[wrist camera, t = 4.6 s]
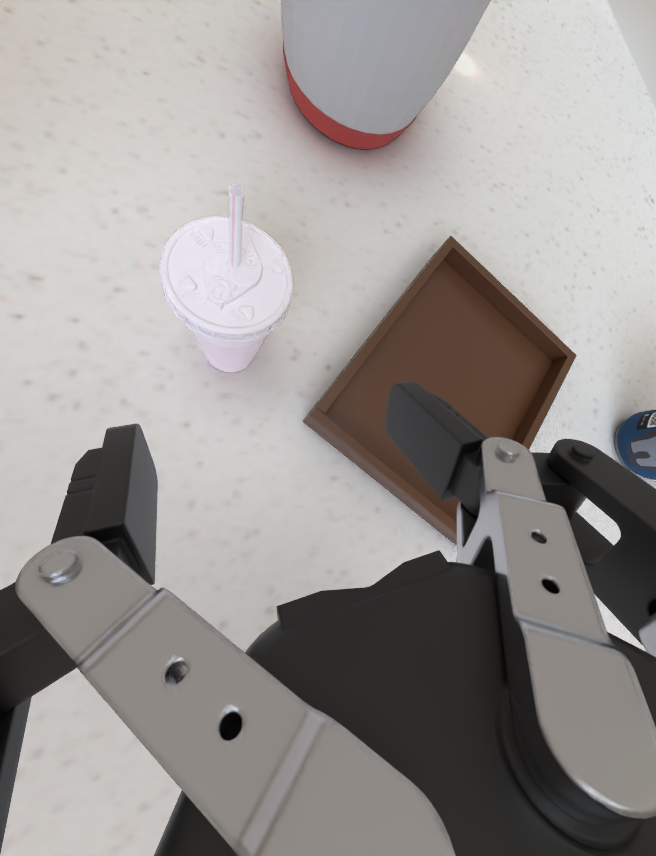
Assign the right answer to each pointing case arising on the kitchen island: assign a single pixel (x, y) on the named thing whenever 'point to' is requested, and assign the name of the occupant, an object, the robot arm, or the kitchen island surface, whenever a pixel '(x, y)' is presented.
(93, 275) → the kitchen island surface
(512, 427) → the tray
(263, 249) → the smoothie
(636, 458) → the soda can
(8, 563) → the kitchen island surface
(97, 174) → the kitchen island surface
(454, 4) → the citrus juicer
